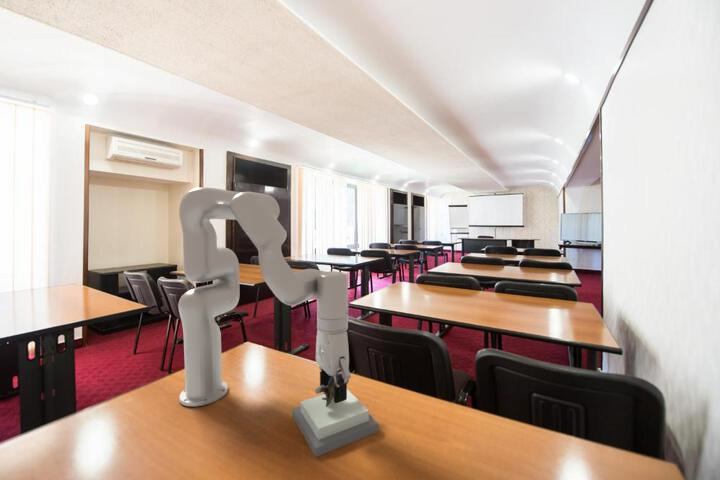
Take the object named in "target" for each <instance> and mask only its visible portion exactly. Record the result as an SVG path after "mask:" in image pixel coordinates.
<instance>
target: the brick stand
mask: <svg viewBox="0 0 720 480" xmlns="http://www.w3.org/2000/svg"><path fill="white" fill-rule="evenodd" d="M322 398H326V395H325V394H321V395H317V396H314V397H311V398H308V399H305V400H301V401H300V406H297V407H294V408H292V417H293V420H294V421H295V424H296V425H297V426H298V428H299V431H300V432H301V434H302V436H303V437H304V439H305V441H306V443H307V444H308V447H309V448H310V449H311V451H312V453H313V455H314V457H315V458H318V457H320V456H322V455H325V454H328V453H329V452H332V451H334V450H336V449H339V448H342V447H344V446H347V445H349V444H351V443H354V442H356V441H359V440H362V439H363V438H365V437H369V436H370V435H373V434H376V433H378V432H380V431H379V426H380V425H379V422H378V421H377V420H376V419H375V418H374V416H373V415H371V414H370V411H369V409H367V407H366V406H365V405H364V404H363V403H362V402H361V401H360V400H359V399H358V398H357V397H356V396H355V395H354V394H353V393H352V392H351V391H350V390H349V389H348V388H347V399H346V400H345V401H342V402H338V403H334V398H333V399H332V400H331V402H330V404H329V405H328V406H327V407H326V400H322Z"/></svg>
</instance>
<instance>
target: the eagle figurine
mask: <svg viewBox="0 0 720 480" xmlns="http://www.w3.org/2000/svg"><path fill="white" fill-rule="evenodd" d="M340 371H341V368H340V369H338V371H337V372H340ZM337 376H338V381H339V379H340V378H342V374H339V375H337ZM334 386H335V381H334V376H331V377H330V379H329V382H328V385H327V386H324V385H321V386H320V385H319V386H317V387H316V388H315V390H314V392H315V393H316V394H317V395H319V394H321V393H323V394H322V395H324V394H325V395H326V398H322V400H326V407H327V406H328V405H329V404H330V402H331V400H332V399H333V398H334Z"/></svg>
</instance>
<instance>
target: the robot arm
mask: <svg viewBox="0 0 720 480" xmlns="http://www.w3.org/2000/svg"><path fill="white" fill-rule="evenodd" d="M280 211H281V210H280V206H279V203H278V201H277V200H276V198H274V197H273V196H272V195H269V194H266V193H259V192H253V191H242V192H241V191H233V190H228V189H220V188H215V187H195V188H192V189H190V190H188V191H187V192H186V193H184V195H183V197H182V198H181V200H180V204H179V209H178V214H179V216H178V217H179V221H180V222H179V223H180V225H181V230H182V246H183V247H182V249H183V253H182V254H183V255H182V257H183V272H184V276H185V278H186V279H187V281H189V282H191V283H196V284H198V283H206V282H211V281H212V282H213V283H212V284H207V285H202V286H198V287H194V288H192V289H189V290H187V291H185V292H184V294H182V295H181V297H180V299H179V301H178V306H177V307H178V312H179V317H180V320H181V326H182V332H183V353H184V355H183V357H184V385H185V386H184V387H185V389H183V390H182V391H181V392H180V394H179V403H180V404H181V405H183V406H186V407H193V408H194V407H200V406H201V407H202V406H205V405H209V404H212V403H215V402H217V401H218V400H220V399H221V398H223V397H224V396H225V395H226V394H227V392H228V390H229V386H228V383H227V382H226V381H224V380H223V372H222V371H223V369H222V367H223V365H222V364H223V363H222V361H223V360H222V333H221V330H220V326H219V325H218V323H217V322H216V320H215V317H217V316H219V315H222V314H226V313H227V312H230V311H232V310H233V309H235V308H236V307H237V305H238V304H239V300H240V290H241V289H240V264H239V259H238V257H237V255H236V253H235V252H234V251H233V250H232V249H230V248H227V247H218V244H217V241H218V236H217V232H216V230H215V227H214V225H213V224H212V223H211V221H210V220H230V221H231V220H232V221H234V220H235V221H237V222H238V224H239V226H240V227H241V228H242V230H243V231H244V232H245V234H246V236H247V237H248V238H249V240H250V241H251V242H252V244H253V245H254V246H255V248H256V249H257V252H258V264H259V271H260V273H261V277H262V279H263V280H264V282H265V283H266V285H267V287H268V288H269V289H270V290H271V292H272V294H273V295H274V296H275V298H277V299H278V300H279V301H280V302H281V303H283V304H284V305H286V306H291V307H292V306H297V305H300V304H302V303H305V302H306V301H309V300H311V299H314V298H316V312H317V313H316V318H317V319H316V324H317V325H316V328H317V329H316V330H317V332H316V337H315V338H316V342H315V361H316V363H317V365H318V366H319V367H318V368H319V386H321V385H324V386H327V385H328V382H329V379H330V377H331V376H334V381H335V386H334V403H338V402H342V401H345V400H346V399H347V389H348V384H349V381H350V378H351V372H350V369H349V366H350V365H349V364H350V354H349V353H350V351H349V340H348V339H349V337H348V331H347V330H348V329H349V278H348V275H347V274H346V273H345V272H342V271H337V270H336V271H334V270H333V271H325V270H320V269H315V268H306V269H301V270H297V271H294V270H293V269H292V268H291V266H290V265H289V264H288V262H287V260H286V259H285V257H284V254H283V252H282V245H283V243H284V242H285V241H286V239H287V237H288V234H287V231H286V229H285V228H284V227H283V226H282V224H281V223H280V222H279V220H278V218H279V216H280V214H281V213H280ZM340 369H341V371H340V372H337V371H338V370H340ZM339 374H342V378H340V379H339V381H338V376H337V375H339Z"/></svg>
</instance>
